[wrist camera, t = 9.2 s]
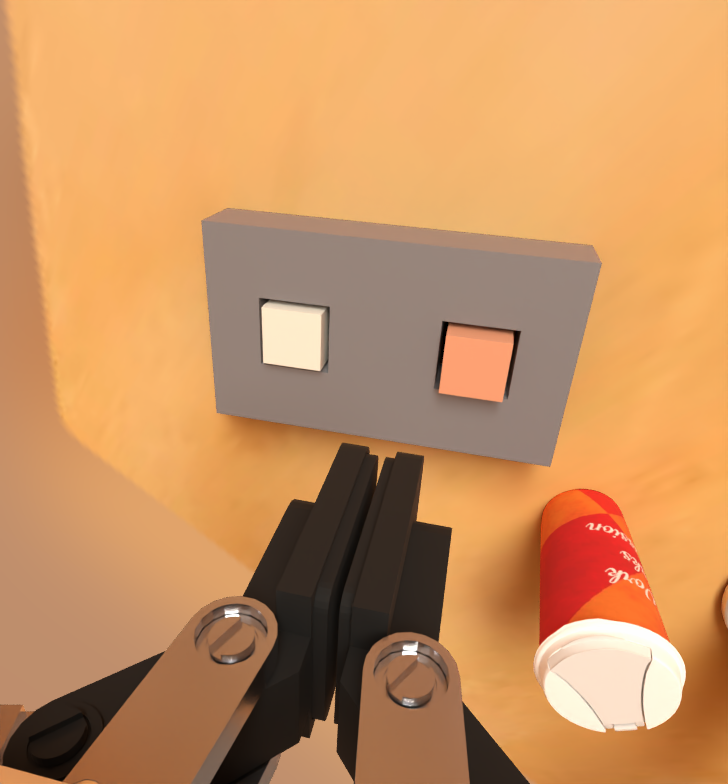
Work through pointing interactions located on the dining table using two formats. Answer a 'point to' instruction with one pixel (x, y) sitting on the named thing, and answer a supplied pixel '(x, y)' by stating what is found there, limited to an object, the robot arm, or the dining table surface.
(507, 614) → the dining table surface
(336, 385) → the button panel
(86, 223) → the dining table surface
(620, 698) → the coffee cup
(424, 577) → the robot arm
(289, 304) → the cream cube block
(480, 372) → the peach square button
